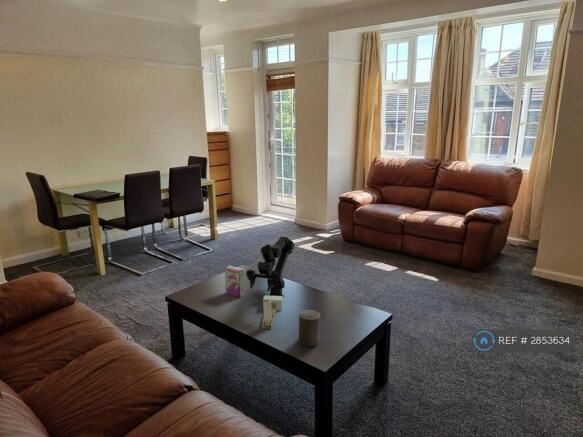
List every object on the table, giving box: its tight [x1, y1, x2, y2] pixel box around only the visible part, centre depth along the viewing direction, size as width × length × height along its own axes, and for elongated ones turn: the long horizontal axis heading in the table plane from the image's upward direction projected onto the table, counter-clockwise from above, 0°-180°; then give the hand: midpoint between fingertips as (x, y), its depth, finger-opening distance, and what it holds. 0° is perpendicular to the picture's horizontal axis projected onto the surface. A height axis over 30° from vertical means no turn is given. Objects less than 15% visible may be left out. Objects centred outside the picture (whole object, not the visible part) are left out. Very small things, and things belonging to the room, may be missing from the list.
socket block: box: [262, 295, 284, 311], centre depth 220 cm, size 5×10×6 cm, turn 85°
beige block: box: [263, 298, 275, 326], centre depth 205 cm, size 12×4×13 cm, turn 175°
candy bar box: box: [224, 265, 246, 298], centre depth 236 cm, size 11×5×16 cm, turn 58°
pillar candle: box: [298, 309, 321, 348], centre depth 187 cm, size 10×10×15 cm
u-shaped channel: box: [261, 310, 277, 330], centre depth 207 cm, size 14×5×3 cm, turn 175°
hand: (259, 289), depth 207 cm, fingers open, 9 cm apart
